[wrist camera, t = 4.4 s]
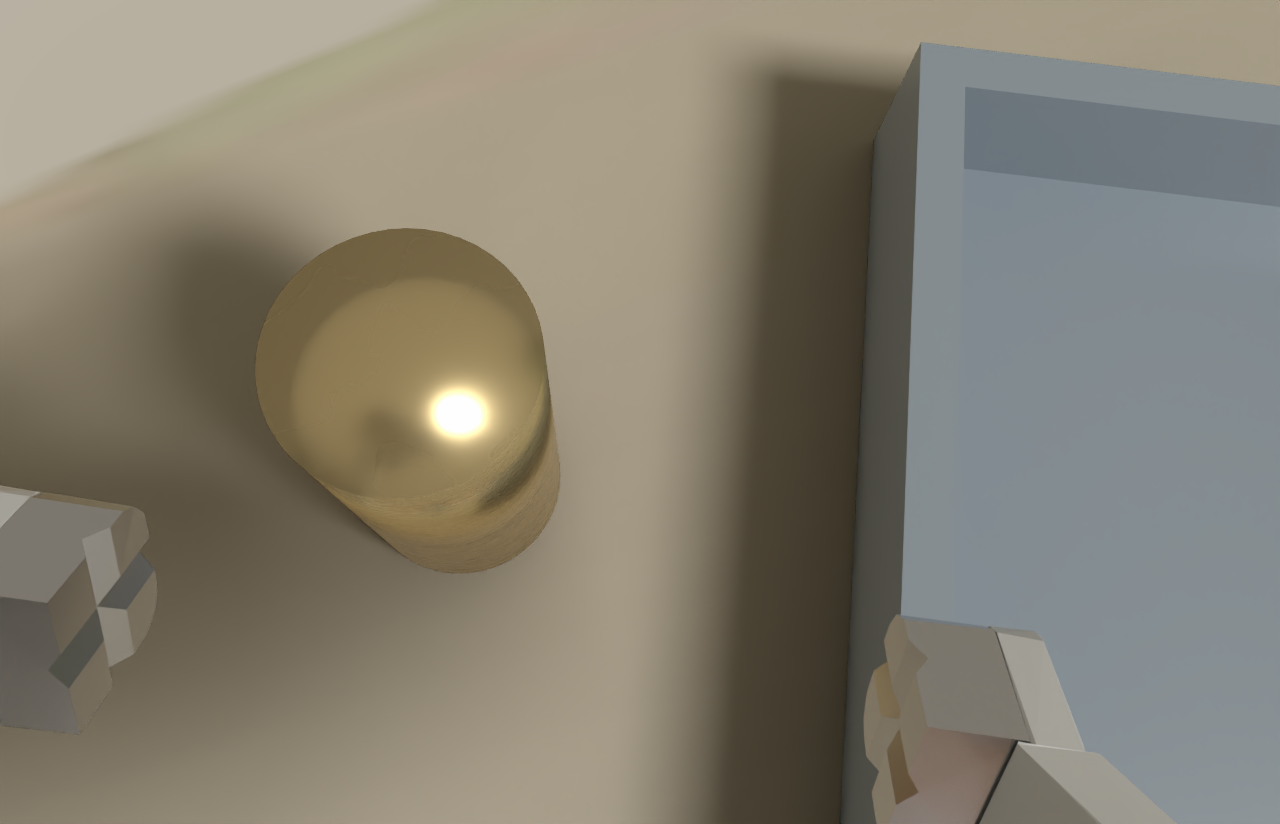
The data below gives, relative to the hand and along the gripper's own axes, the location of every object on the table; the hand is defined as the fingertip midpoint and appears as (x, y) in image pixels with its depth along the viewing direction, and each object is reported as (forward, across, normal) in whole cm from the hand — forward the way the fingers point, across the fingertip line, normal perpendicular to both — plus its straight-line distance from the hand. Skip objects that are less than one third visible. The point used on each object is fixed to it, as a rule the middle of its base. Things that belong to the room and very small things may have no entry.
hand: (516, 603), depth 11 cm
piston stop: (+10, -3, -6) cm, 13 cm away
